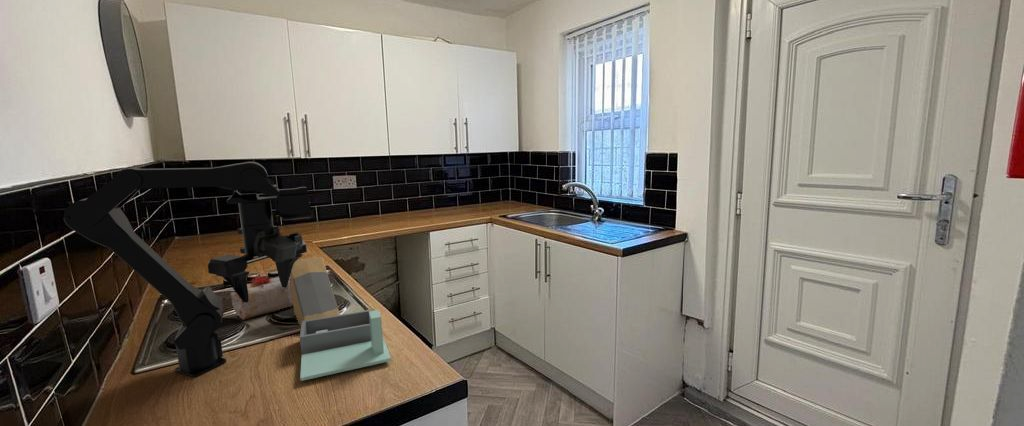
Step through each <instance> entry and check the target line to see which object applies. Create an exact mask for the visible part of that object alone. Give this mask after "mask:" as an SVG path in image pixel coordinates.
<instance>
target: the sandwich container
mask: <svg viewBox="0 0 1024 426" xmlns="http://www.w3.org/2000/svg"><path fill="white" fill-rule="evenodd" d="M289 280H290V282H291V291H292V298H293V312H294V313H293V314H294V316H295V315H296V317H297V319H296V321H297V320H298V321H297V323H298V325H300V327H301V325H302V321H305V320H311V319H317V318H323V317H329V316H335V315H341V313H340V310H339V307H338V304H337V300H336V297H335V294H334V291H333V289H332V284H331V282H330V278H329V274H328V271H327V268H326V265H325V261H324V257H323V256H317V257H316V256H315V257H308V258H303V259H298V260H297V261H295V263H294V265H293V267H292V270H291V274H290V278H289Z"/></svg>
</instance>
